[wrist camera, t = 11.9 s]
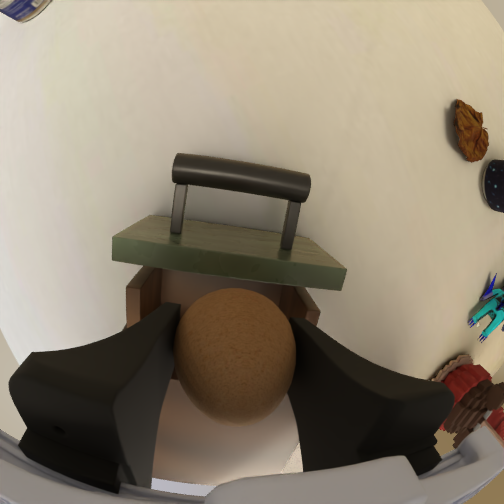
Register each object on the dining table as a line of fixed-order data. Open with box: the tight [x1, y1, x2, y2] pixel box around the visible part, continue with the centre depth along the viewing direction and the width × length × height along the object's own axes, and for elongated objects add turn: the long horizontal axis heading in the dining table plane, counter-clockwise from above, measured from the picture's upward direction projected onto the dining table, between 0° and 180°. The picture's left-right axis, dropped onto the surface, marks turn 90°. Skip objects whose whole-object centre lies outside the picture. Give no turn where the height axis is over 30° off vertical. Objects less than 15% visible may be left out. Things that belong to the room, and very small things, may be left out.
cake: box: [431, 355, 504, 449], centre depth 19 cm, size 11×9×18 cm
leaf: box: [454, 99, 489, 163], centre depth 18 cm, size 6×7×2 cm
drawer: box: [112, 153, 347, 371], centre depth 17 cm, size 17×11×7 cm
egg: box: [173, 288, 296, 427], centre depth 9 cm, size 4×4×6 cm
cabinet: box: [122, 323, 299, 486], centre depth 19 cm, size 14×13×9 cm
